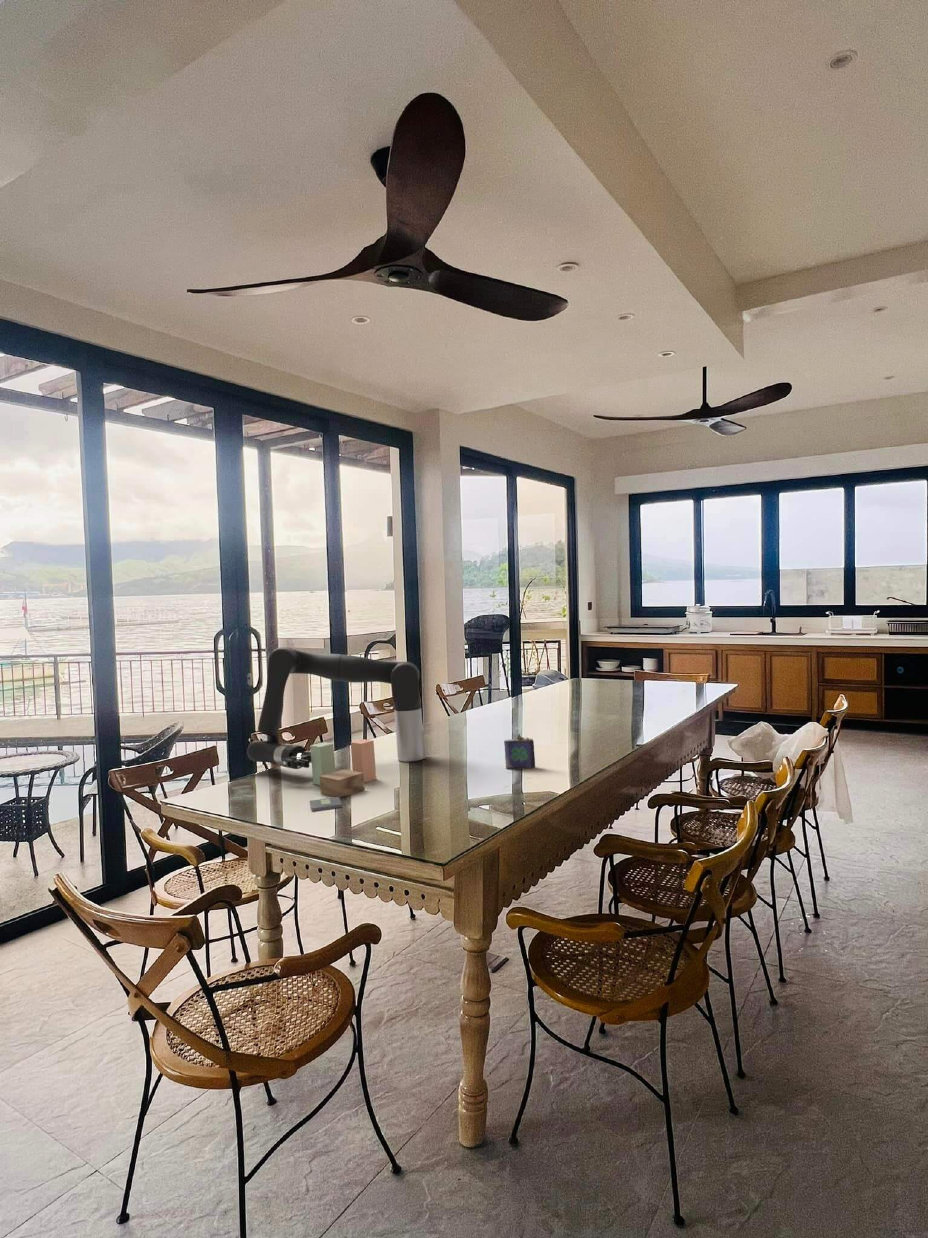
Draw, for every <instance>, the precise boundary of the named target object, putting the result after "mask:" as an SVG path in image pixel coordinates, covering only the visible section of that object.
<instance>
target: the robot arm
mask: <svg viewBox="0 0 928 1238" xmlns="http://www.w3.org/2000/svg"><path fill="white" fill-rule="evenodd" d="M291 674H300V675H301V674H306V675H314V676H316V677H321V678H323V679H327V680H332V681H336V682H346V683H376V682H377V683H385V684H391V693H392V694H391V696H392V697H391V698H392V703H393V709H394V723H395V724H394V725H395V739H396V748H397V749H396V751H397V753H396V755H397V760H398V761H399V762H407V763H408V762H416V761H421V760H423V759H427V752H426V748H427V747H426V738H425V737H426V736H425V735H426V734H425V731H424V729H423V728H424V727H423V716H422V702H421V696H420V685H419V683H420V682H419V680H420V675H421V674H420V670H419V667H417V665H416V664H414V663H412V662H410V661H383V660H376V659H373V658H368V657H361V656H358V655H350V654H349V655H348V654H343V653H341V654H340V653H313V652H309V651H302V650H297V649H293V648H291V647H278V648H276V649H274V650H273V651H272V652H271V653H270V654H269V656H268V665H267V678H266V689H265V693H264V699H263V704H262V708H261V711H260V712H261V713H260V716H259V720H258V721H259V722H258V725H257V731H258V732H259V733H260V734H262V735H266V740H259V739H258V740H253V741H251V742H250V743H249V744H248V746H247V749H246V754H247V757H248V759H249V760H251V761H252V762H258V763H270V764H273V765H278V766H280V767H284V768H287V769H293V770H300V769H302V768H305V769H308V768H310V764H312V761H311V750H307V749H306V747H304V746H303V745H299V744H294V743H293V744H292V743H280V733H279V732H280V726H281V722H282V717H283V712H284V698H285V696H284V695H285V689H286V685H287V681H288V678H289V676H290V675H291Z"/></svg>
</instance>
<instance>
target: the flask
mask: <svg viewBox="0 0 928 1238" xmlns="http://www.w3.org/2000/svg"><path fill="white" fill-rule="evenodd" d="M515 737H516V738H515V739H505V740H504V742H503V743H504V757H505V758H504V759H505V760H504V761H505V769H506V770H523V769H536V757H535V742H534V740H533V738H529V737H526V738H525V737H523V736H521V733H520V732H519V733H516V735H515Z"/></svg>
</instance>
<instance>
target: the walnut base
mask: <svg viewBox="0 0 928 1238" xmlns="http://www.w3.org/2000/svg"><path fill="white" fill-rule="evenodd" d="M319 788H320V794H322V795H323V794H324V795H327V796H332V797H339V798H343V797H346V796H349V795H352V794H356V793H358V792H362V791H364V790H365V783H364V777H363V773H361V772H356V771H353V770H349V769H341V770H337V771H336V770H335V772H333V773H329V774H326V775H322V776H320V785H319Z"/></svg>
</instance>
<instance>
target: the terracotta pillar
mask: <svg viewBox="0 0 928 1238" xmlns="http://www.w3.org/2000/svg"><path fill="white" fill-rule="evenodd" d="M350 752H351V753H350V754H351V765H352V767H351V768H352V771H356V772H361V773H363V777H364V784H365V783H369V782H372V781H374V780H377V770H376V759H375V743H374V740H371V739H364V738H363V739H358V740H355V741H351V742H350Z"/></svg>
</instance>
